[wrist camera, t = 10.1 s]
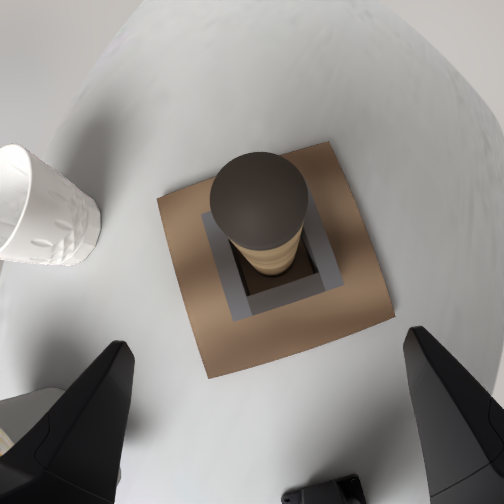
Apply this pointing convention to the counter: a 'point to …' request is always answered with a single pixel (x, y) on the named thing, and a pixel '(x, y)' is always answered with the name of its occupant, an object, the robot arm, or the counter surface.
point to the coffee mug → (25, 415)
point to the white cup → (43, 212)
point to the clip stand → (276, 288)
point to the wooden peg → (261, 209)
